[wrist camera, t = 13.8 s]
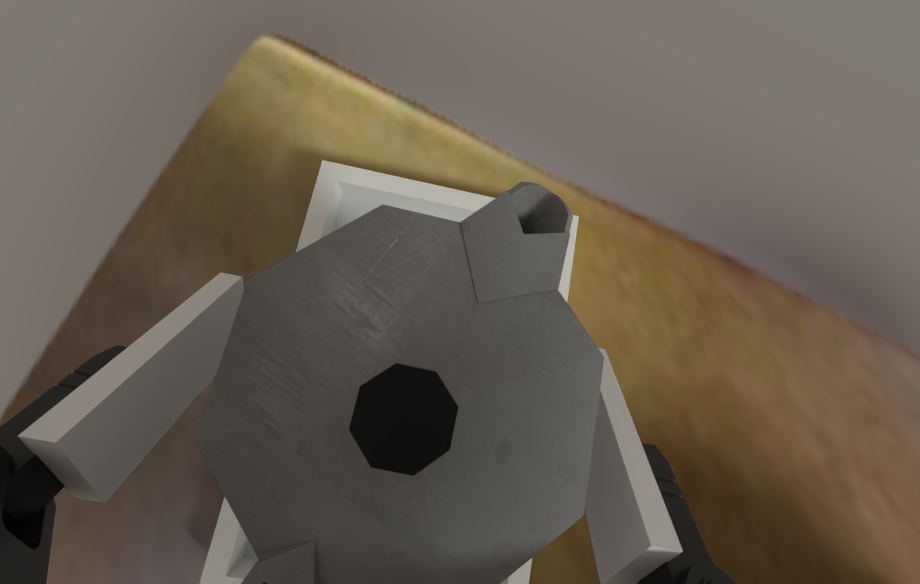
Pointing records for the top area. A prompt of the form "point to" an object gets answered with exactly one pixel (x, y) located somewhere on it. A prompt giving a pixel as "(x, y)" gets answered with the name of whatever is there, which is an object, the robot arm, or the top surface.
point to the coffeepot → (408, 399)
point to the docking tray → (330, 208)
